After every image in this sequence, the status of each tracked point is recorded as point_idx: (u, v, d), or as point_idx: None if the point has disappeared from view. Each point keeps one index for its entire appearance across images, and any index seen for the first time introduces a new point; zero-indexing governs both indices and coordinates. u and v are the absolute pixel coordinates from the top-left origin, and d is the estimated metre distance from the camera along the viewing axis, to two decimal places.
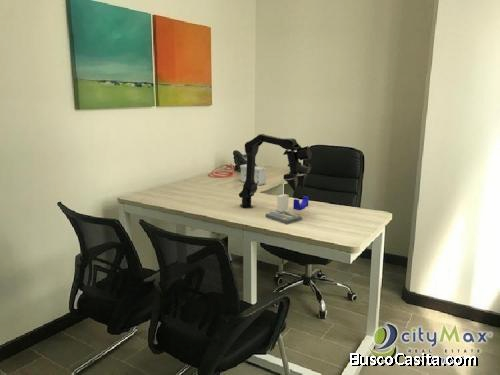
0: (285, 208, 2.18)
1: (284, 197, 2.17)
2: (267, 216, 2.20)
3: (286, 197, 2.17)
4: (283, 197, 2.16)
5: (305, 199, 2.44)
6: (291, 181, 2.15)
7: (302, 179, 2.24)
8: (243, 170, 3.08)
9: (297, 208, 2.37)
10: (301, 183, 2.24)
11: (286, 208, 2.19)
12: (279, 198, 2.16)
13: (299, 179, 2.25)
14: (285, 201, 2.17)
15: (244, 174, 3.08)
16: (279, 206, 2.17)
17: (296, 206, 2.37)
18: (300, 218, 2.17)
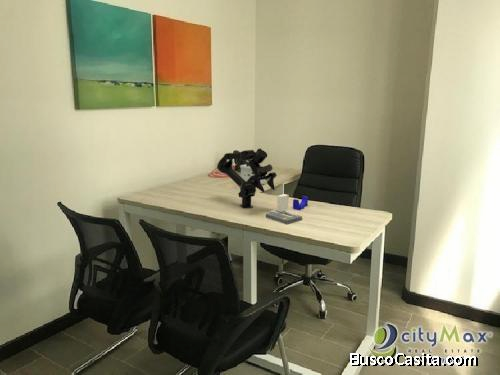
0: (285, 208, 2.18)
1: (284, 197, 2.17)
2: (267, 216, 2.20)
3: (286, 197, 2.17)
4: (283, 197, 2.16)
5: (304, 199, 2.45)
6: (257, 184, 2.24)
7: (271, 182, 2.29)
8: (243, 170, 3.08)
9: (296, 208, 2.37)
10: (271, 186, 2.29)
11: (286, 208, 2.19)
12: (279, 198, 2.16)
13: (269, 184, 2.31)
14: (285, 201, 2.17)
15: (244, 174, 3.08)
16: (279, 206, 2.17)
17: (295, 206, 2.37)
18: (300, 218, 2.17)
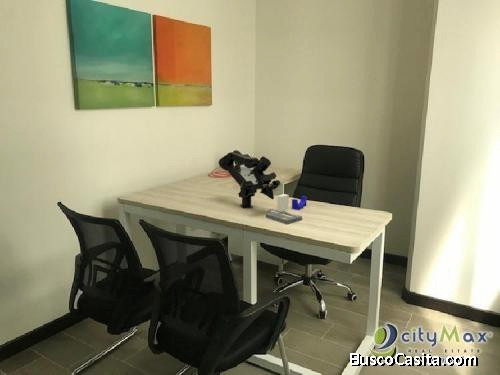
0: (285, 208, 2.18)
1: (284, 197, 2.17)
2: (267, 216, 2.20)
3: (286, 197, 2.17)
4: (283, 197, 2.16)
5: (303, 199, 2.45)
6: (266, 191, 2.25)
7: (270, 190, 2.25)
8: (243, 170, 3.08)
9: (295, 208, 2.37)
10: None
11: (286, 208, 2.19)
12: (279, 198, 2.16)
13: None
14: (285, 201, 2.17)
15: (244, 174, 3.08)
16: (279, 206, 2.17)
17: (294, 205, 2.38)
18: (300, 218, 2.17)
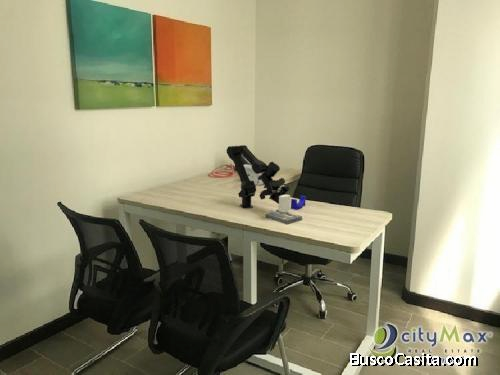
0: (287, 208, 2.18)
1: (286, 198, 2.16)
2: (267, 216, 2.20)
3: (288, 197, 2.17)
4: (285, 197, 2.15)
5: (302, 199, 2.45)
6: (274, 197, 2.21)
7: None
8: None
9: (295, 208, 2.37)
10: None
11: (288, 208, 2.18)
12: (281, 198, 2.15)
13: None
14: (287, 201, 2.17)
15: None
16: (281, 206, 2.16)
17: (293, 205, 2.38)
18: (300, 218, 2.17)
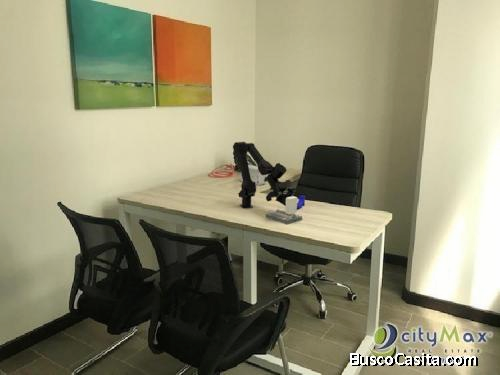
0: (293, 211, 2.14)
1: (293, 200, 2.12)
2: (267, 216, 2.20)
3: (295, 199, 2.13)
4: (292, 199, 2.11)
5: (301, 199, 2.45)
6: (281, 199, 2.17)
7: (285, 198, 2.17)
8: None
9: None
10: None
11: (294, 210, 2.14)
12: (287, 200, 2.11)
13: None
14: (294, 203, 2.13)
15: None
16: (288, 208, 2.12)
17: None
18: (300, 218, 2.17)
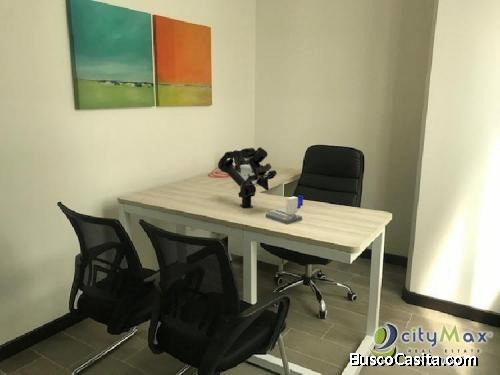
0: (294, 211, 2.14)
1: (294, 200, 2.12)
2: (267, 216, 2.20)
3: (295, 199, 2.13)
4: (292, 199, 2.11)
5: (300, 198, 2.46)
6: (261, 182, 2.27)
7: (265, 182, 2.27)
8: (243, 170, 3.08)
9: None
10: None
11: (295, 211, 2.14)
12: (288, 200, 2.11)
13: None
14: (294, 204, 2.13)
15: (244, 174, 3.08)
16: (288, 209, 2.12)
17: None
18: (300, 218, 2.17)
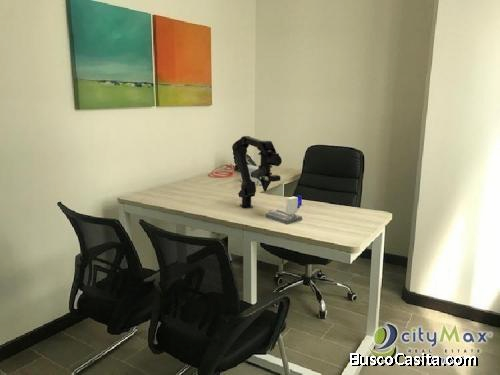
0: (294, 211, 2.14)
1: (294, 200, 2.12)
2: (267, 216, 2.20)
3: (295, 199, 2.13)
4: (292, 199, 2.11)
5: (299, 198, 2.46)
6: None
7: None
8: None
9: None
10: None
11: (295, 211, 2.14)
12: (288, 200, 2.11)
13: None
14: (294, 204, 2.13)
15: None
16: (288, 209, 2.12)
17: None
18: (300, 218, 2.17)
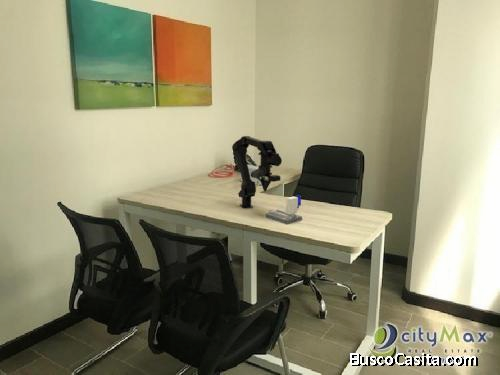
0: (294, 211, 2.14)
1: (294, 200, 2.12)
2: (267, 216, 2.20)
3: (295, 199, 2.13)
4: (292, 199, 2.11)
5: (298, 198, 2.46)
6: None
7: None
8: None
9: None
10: None
11: (295, 211, 2.14)
12: (288, 200, 2.11)
13: None
14: (294, 204, 2.13)
15: None
16: (288, 209, 2.12)
17: None
18: (300, 218, 2.17)
